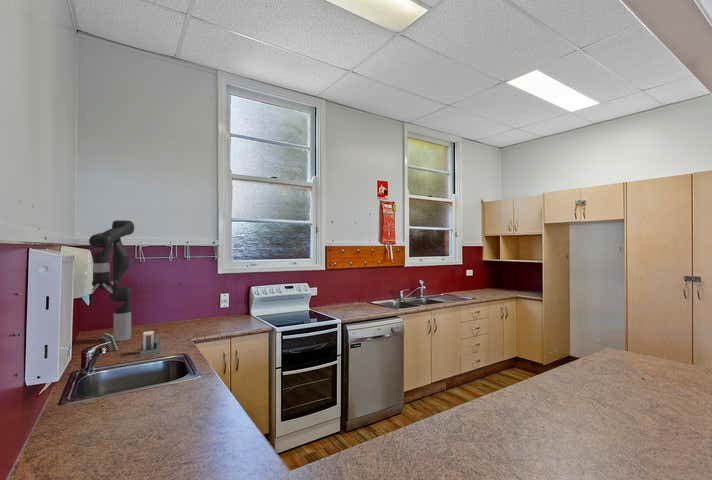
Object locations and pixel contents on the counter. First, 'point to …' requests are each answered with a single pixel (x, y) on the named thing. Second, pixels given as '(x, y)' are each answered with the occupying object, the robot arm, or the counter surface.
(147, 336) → the beige grey rectangular block
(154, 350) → the bracket
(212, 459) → the counter surface
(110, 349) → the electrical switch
